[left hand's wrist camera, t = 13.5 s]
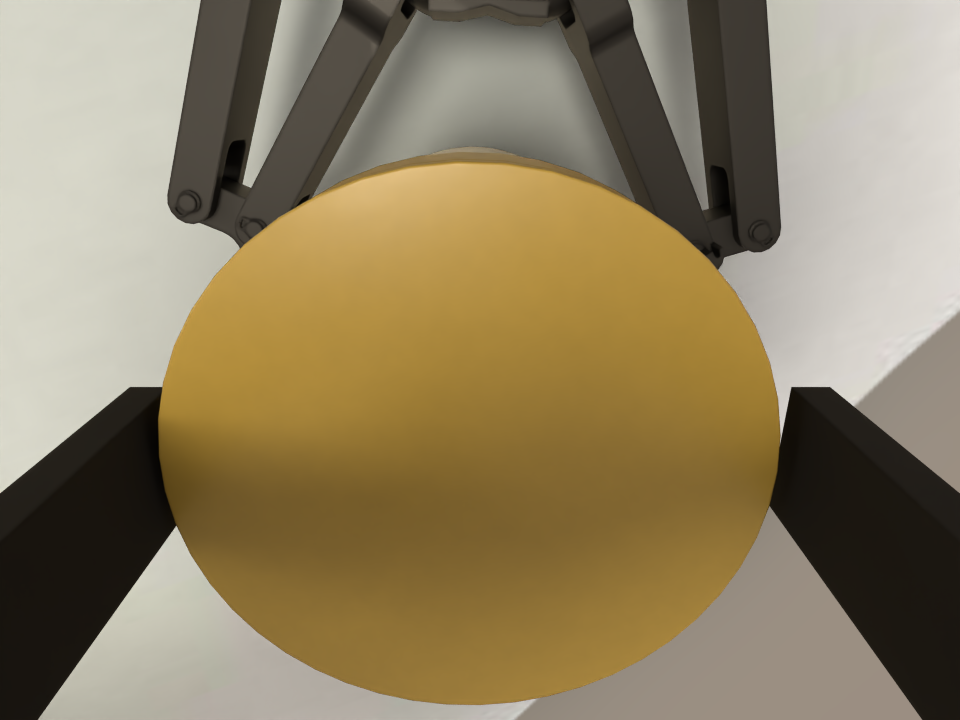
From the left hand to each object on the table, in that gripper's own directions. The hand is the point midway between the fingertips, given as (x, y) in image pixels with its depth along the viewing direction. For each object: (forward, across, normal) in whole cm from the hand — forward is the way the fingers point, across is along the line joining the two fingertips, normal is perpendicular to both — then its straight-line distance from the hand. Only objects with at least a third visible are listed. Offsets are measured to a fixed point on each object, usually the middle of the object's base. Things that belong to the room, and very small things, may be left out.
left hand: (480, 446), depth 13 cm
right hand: (+8, 0, -4) cm, 9 cm away
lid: (-1, 0, 0) cm, 1 cm away
